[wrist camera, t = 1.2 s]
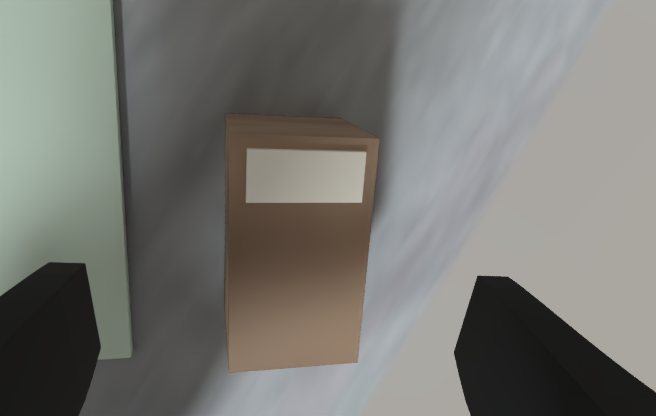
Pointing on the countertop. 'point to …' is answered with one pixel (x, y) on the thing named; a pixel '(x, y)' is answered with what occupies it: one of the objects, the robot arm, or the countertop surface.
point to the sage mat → (64, 154)
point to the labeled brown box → (296, 239)
